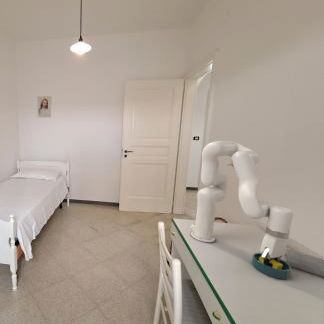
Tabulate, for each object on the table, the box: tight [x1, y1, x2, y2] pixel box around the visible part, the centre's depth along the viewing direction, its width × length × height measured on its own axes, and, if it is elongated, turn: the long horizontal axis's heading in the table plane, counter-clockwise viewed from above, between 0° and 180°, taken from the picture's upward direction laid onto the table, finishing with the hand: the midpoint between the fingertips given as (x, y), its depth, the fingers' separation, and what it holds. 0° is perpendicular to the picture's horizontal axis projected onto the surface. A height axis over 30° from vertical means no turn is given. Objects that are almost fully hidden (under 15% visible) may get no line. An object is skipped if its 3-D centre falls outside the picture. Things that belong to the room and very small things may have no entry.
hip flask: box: [285, 248, 324, 278], centre depth 99 cm, size 16×4×20 cm
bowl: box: [251, 252, 293, 280], centre depth 97 cm, size 13×13×4 cm
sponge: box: [259, 257, 283, 270], centre depth 97 cm, size 7×4×4 cm, turn 17°
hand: (270, 268), depth 97 cm, fingers closed on sponge, 3 cm apart
